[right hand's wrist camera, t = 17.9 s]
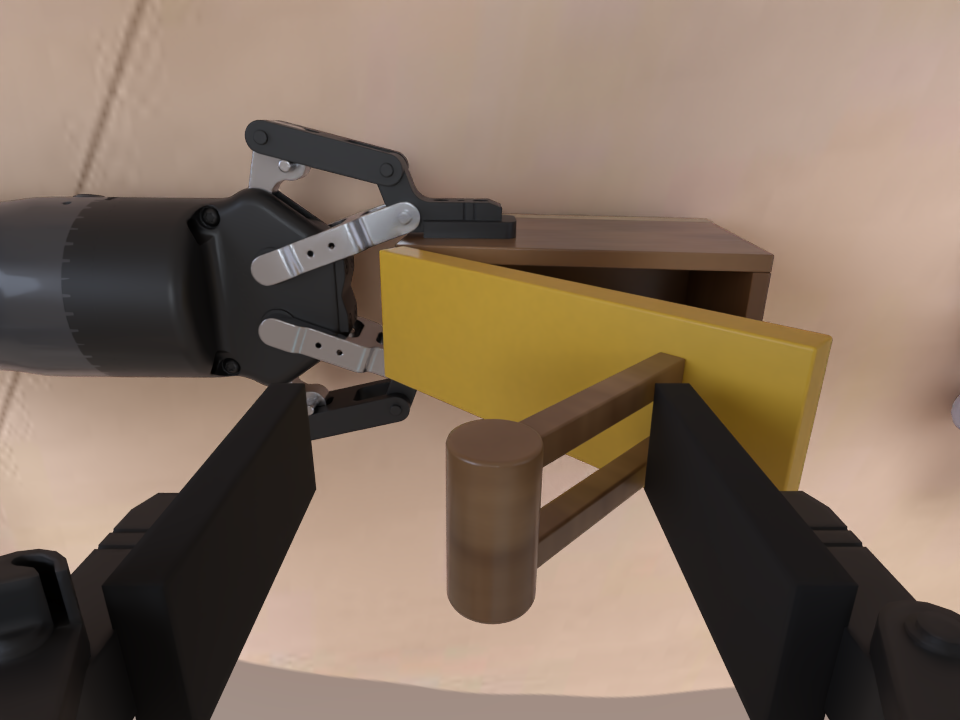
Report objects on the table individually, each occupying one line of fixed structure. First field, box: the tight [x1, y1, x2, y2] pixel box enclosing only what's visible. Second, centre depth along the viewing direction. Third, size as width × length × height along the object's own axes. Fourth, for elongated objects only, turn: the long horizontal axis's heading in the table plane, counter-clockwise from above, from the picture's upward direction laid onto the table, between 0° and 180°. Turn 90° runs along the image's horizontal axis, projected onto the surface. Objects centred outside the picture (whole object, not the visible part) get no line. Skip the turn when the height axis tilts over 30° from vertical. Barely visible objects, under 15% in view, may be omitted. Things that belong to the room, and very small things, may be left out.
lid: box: [379, 246, 832, 624], centre depth 16 cm, size 15×5×8 cm
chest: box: [395, 214, 774, 321], centre depth 28 cm, size 14×5×9 cm, turn 89°
